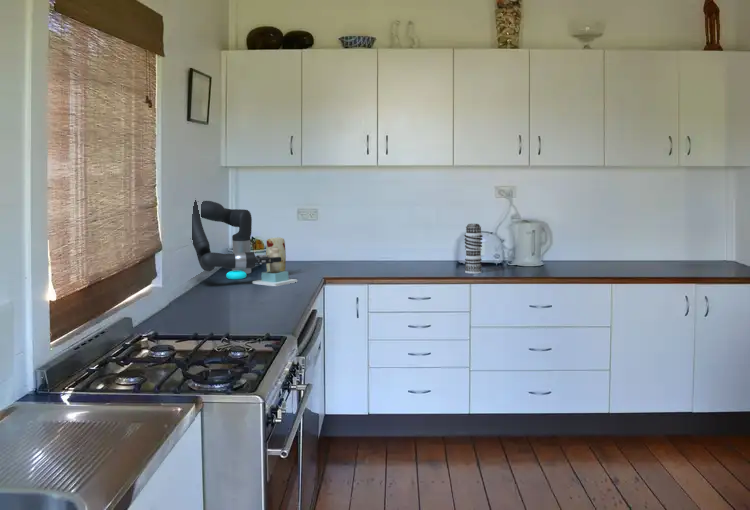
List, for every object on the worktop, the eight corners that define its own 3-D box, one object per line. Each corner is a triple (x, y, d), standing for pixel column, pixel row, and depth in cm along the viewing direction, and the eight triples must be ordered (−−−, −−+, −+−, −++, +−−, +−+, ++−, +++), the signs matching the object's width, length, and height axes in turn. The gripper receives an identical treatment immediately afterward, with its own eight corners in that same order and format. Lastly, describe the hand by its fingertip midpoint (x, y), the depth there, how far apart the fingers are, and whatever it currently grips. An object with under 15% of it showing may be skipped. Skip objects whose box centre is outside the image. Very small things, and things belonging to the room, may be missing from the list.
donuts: (222, 258, 368) (242, 256, 373) (223, 277, 370) (242, 276, 375) (229, 260, 360) (248, 258, 365) (230, 280, 361) (249, 278, 366)
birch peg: (268, 277, 350) (267, 247, 349) (274, 276, 354) (273, 247, 352) (274, 277, 348) (274, 248, 346) (281, 276, 352) (280, 247, 350)
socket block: (252, 283, 350) (252, 272, 349) (274, 279, 362) (274, 269, 361) (276, 286, 341) (275, 275, 341) (297, 282, 353) (297, 271, 353)
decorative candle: (479, 274, 374) (479, 224, 371) (461, 273, 378) (462, 224, 375) (484, 271, 382) (484, 223, 379) (467, 270, 386) (467, 223, 383)
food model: (267, 278, 367) (266, 238, 364) (266, 276, 373) (265, 236, 371) (286, 277, 369) (285, 237, 367) (285, 275, 376) (284, 236, 373)
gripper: (246, 254, 338) (283, 252, 344) (241, 250, 351) (276, 249, 357) (247, 270, 339) (283, 268, 345) (241, 266, 352) (277, 264, 358)
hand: (279, 258), depth 351 cm, fingers closed on birch peg, 4 cm apart
